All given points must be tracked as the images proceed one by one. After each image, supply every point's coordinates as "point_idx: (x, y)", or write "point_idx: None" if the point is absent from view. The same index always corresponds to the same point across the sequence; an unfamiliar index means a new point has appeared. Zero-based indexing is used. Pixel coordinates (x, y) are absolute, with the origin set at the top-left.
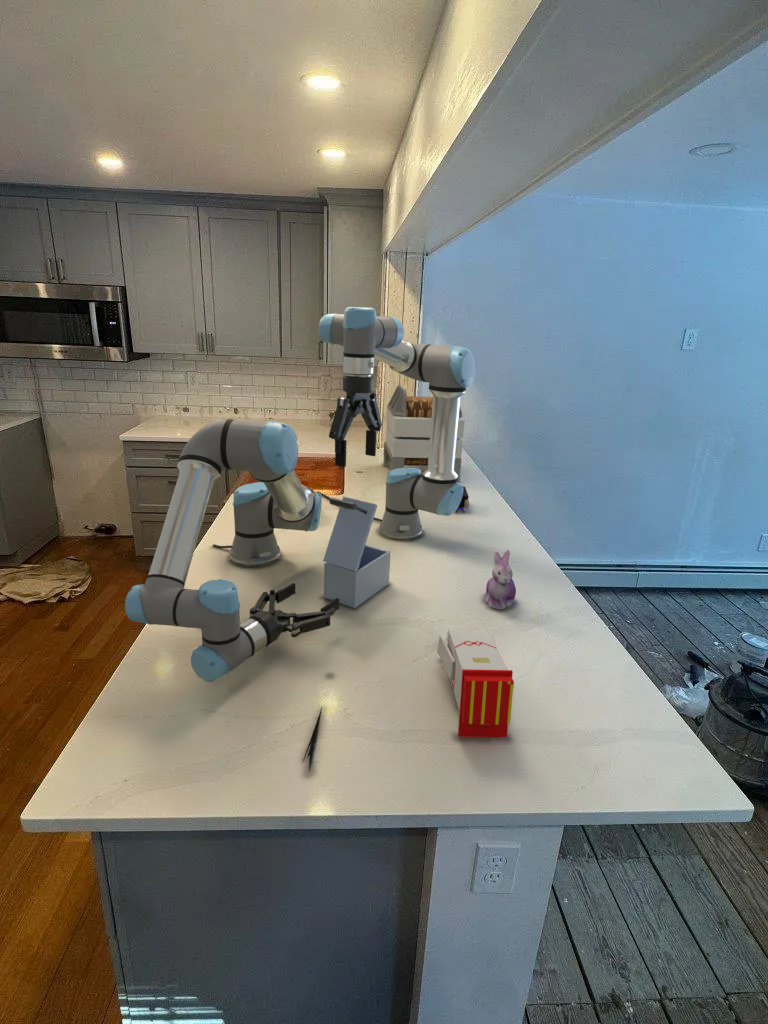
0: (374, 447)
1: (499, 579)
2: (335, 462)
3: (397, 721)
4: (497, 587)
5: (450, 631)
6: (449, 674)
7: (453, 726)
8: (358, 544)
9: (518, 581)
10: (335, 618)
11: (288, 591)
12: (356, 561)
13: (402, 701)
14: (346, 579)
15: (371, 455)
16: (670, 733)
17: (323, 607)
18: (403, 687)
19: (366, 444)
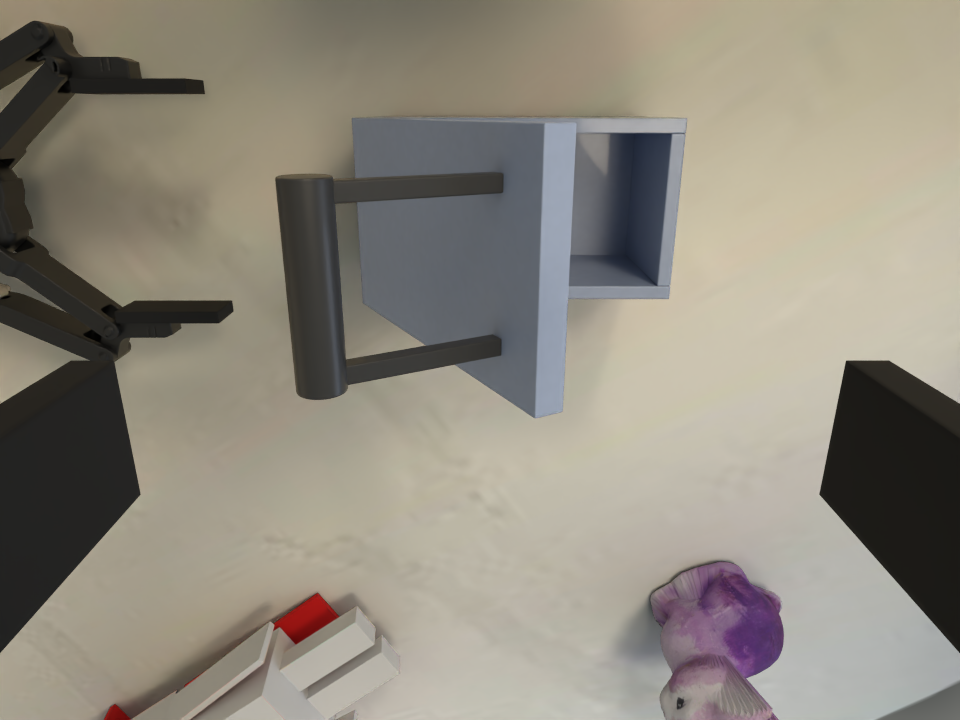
0: (896, 575)
1: (667, 692)
2: (48, 380)
3: (60, 604)
4: (668, 659)
5: (251, 705)
6: (181, 694)
7: (133, 687)
8: (409, 310)
9: (875, 601)
10: None
11: (147, 93)
12: (377, 307)
13: (119, 585)
14: None
15: (831, 460)
16: None
17: (129, 314)
18: (161, 565)
19: (948, 446)
